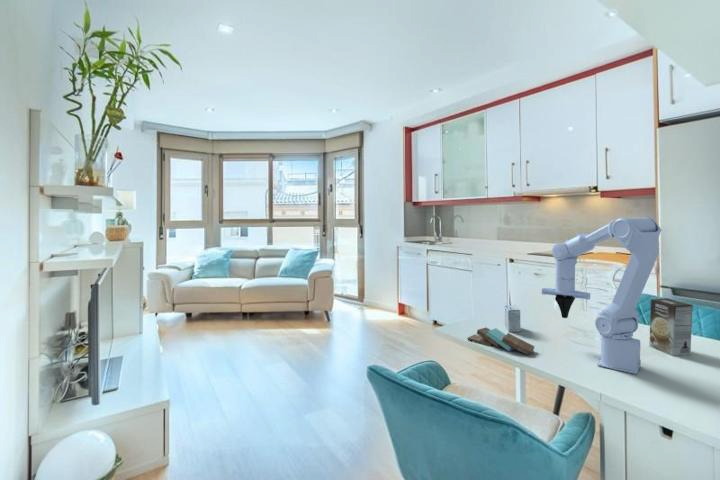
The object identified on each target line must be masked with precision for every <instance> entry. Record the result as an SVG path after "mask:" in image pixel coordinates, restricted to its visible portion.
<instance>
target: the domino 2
mask: <svg viewBox="0 0 720 480" xmlns="http://www.w3.org/2000/svg"><path fill="white" fill-rule="evenodd" d="M505 335H506V334H505V333H504V332H502V331H501V330H499V329H498V328H497V327H495V328H493V329H490V331H488V333H487V336H489V337H490V338H491V339H493V340H494V341H496V342H497V343H498V344H500V345H501V346H500V347H502V348H504V349H505V350H506V351H507V352H510V351H512V350H516V349H515V348H513V347H511V346H509V345H507V344H505V343H503V342H502V339H503V337H504V336H505Z"/></svg>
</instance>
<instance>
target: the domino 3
mask: <svg viewBox="0 0 720 480" xmlns="http://www.w3.org/2000/svg"><path fill="white" fill-rule="evenodd" d="M502 342H503V343H505V344H507V345H509V346H511V347H513V348H515V349H514V350H517V351H519V352H521V353H522V354H525V355H527V356H528V357H529V356H530V355H531V353H533V352H534V350H535V347H536V346H535V345H533V344H531V343H529V342H527V341H525V340H522V339H521V338H519V337H517V336H515V335H513V334H511V333H510V332H508V333H507V334H505V336H504V337H503V339H502Z"/></svg>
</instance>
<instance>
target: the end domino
mask: <svg viewBox="0 0 720 480" xmlns="http://www.w3.org/2000/svg"><path fill="white" fill-rule="evenodd" d="M466 339H468V340H472V341H475V342H474V343H476V342H478V343H477V344H480V345H485V346H487V347H488V346H489V347H493V346H494V345H493V344H492V343H490V342H489V341H487V340H486V339H484V338H483V337H481V336H480V335H478V334H473V335H470V336H469V337H467V338H466ZM468 340H467V341H468ZM472 341H471V342H472Z"/></svg>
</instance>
